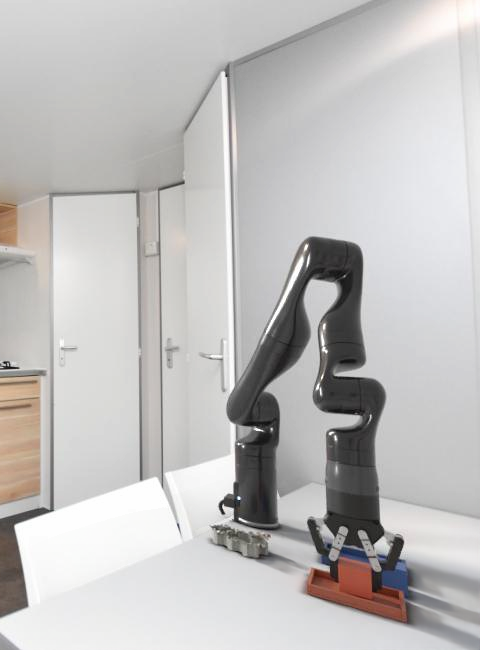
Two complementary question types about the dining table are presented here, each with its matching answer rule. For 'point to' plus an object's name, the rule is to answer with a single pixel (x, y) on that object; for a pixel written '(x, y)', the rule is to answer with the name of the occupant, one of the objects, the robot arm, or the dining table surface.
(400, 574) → the blue block
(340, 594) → the terracotta tray
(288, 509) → the dining table surface
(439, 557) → the dining table surface
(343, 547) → the blue tray
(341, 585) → the terracotta block
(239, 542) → the egg carton
